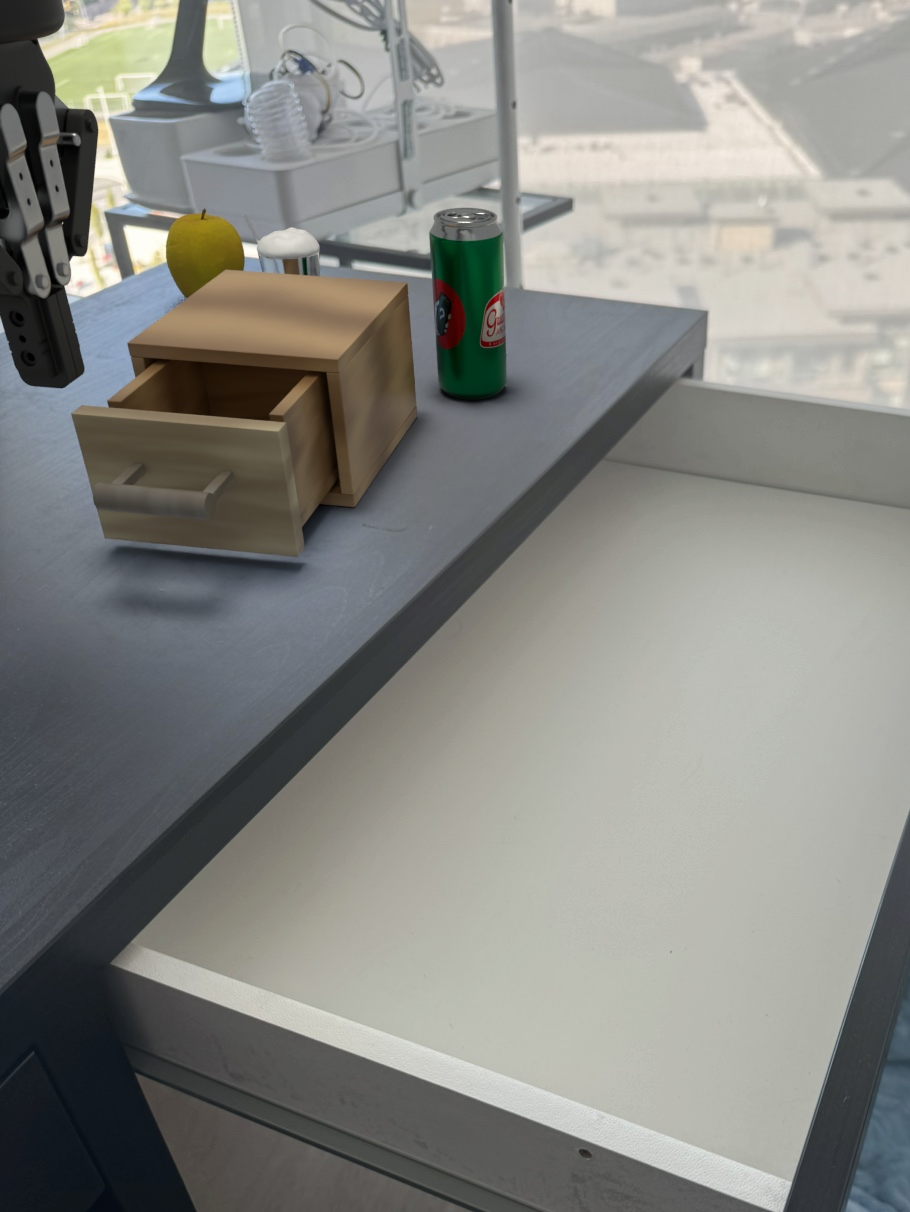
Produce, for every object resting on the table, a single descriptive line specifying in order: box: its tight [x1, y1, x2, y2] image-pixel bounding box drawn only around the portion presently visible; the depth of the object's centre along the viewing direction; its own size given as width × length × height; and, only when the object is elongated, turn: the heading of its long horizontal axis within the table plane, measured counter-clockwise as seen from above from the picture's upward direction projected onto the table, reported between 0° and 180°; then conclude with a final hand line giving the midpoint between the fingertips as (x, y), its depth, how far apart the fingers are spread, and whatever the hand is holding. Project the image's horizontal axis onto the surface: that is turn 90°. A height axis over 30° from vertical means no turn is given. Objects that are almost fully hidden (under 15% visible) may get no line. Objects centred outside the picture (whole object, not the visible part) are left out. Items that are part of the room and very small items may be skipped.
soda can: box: [428, 207, 508, 401], centre depth 83 cm, size 5×5×12 cm
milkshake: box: [243, 214, 321, 276], centre depth 88 cm, size 4×5×10 cm
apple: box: [165, 208, 246, 300], centre depth 98 cm, size 6×6×8 cm
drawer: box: [70, 359, 339, 558], centre depth 67 cm, size 18×11×7 cm, turn 171°
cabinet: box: [126, 270, 418, 508], centre depth 75 cm, size 15×13×9 cm
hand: (54, 380), depth 50 cm, fingers closed
